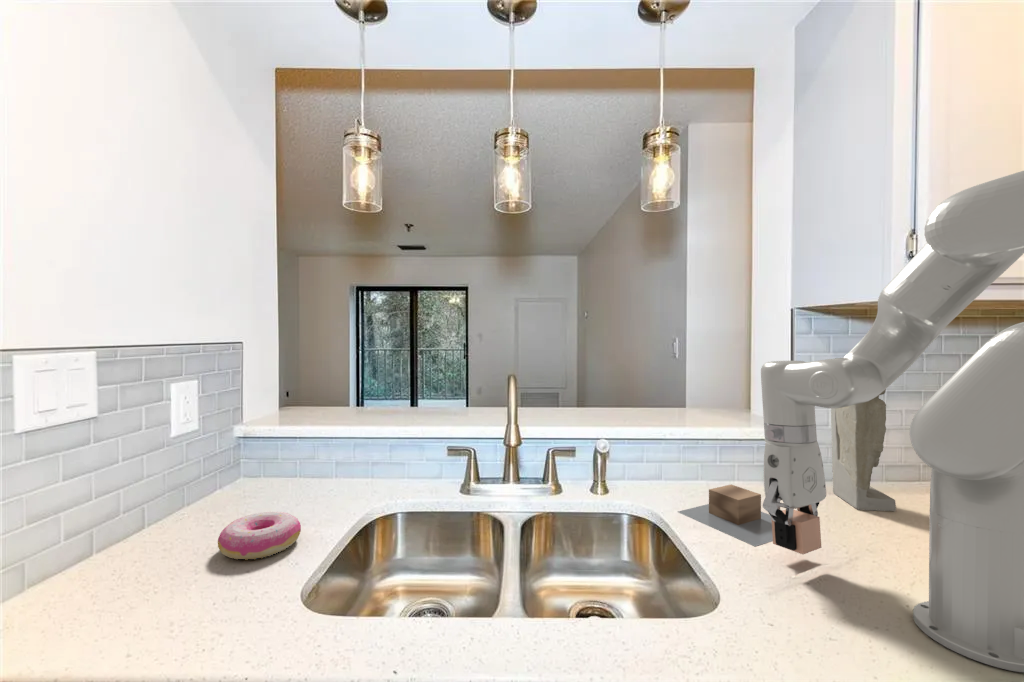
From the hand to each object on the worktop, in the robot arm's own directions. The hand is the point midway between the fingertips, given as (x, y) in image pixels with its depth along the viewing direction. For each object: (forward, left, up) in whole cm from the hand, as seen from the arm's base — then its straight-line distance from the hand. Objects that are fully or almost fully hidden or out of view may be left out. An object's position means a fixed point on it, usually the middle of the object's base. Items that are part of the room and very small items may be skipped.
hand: (796, 542), depth 76 cm
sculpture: (+11, -43, -4) cm, 44 cm away
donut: (+49, +81, -5) cm, 95 cm away
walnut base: (+18, -8, -3) cm, 20 cm away
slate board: (+16, -7, -4) cm, 18 cm away
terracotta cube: (0, 0, -1) cm, 1 cm away
